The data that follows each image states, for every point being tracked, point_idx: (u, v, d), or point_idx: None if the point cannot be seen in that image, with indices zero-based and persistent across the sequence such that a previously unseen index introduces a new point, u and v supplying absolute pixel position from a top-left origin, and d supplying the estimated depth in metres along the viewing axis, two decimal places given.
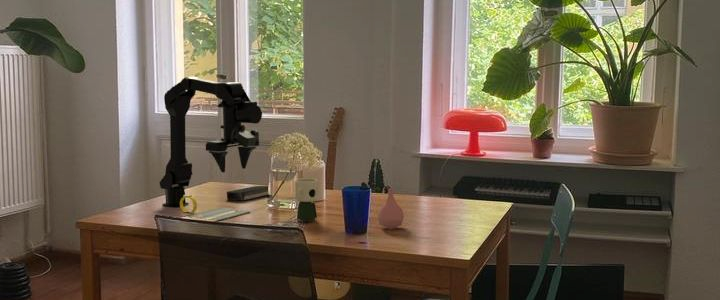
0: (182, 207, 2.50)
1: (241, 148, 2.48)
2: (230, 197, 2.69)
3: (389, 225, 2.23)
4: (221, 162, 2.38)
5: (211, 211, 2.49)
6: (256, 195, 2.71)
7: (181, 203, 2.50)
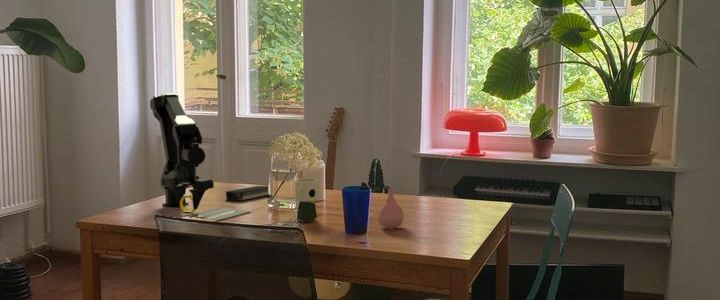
0: (182, 207, 2.50)
1: None
2: (229, 197, 2.69)
3: (389, 225, 2.23)
4: None
5: (211, 211, 2.49)
6: (255, 195, 2.71)
7: (181, 203, 2.50)
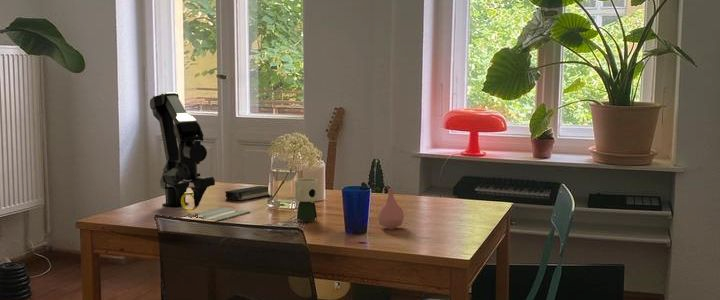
0: (183, 204, 2.49)
1: None
2: (228, 197, 2.70)
3: (389, 225, 2.23)
4: None
5: (211, 211, 2.49)
6: (255, 195, 2.71)
7: (182, 200, 2.49)
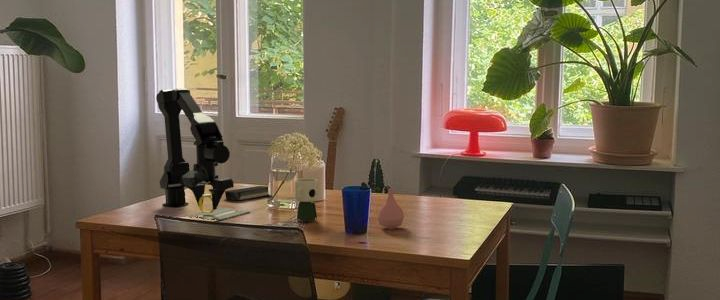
0: (201, 207, 2.45)
1: None
2: (228, 196, 2.70)
3: (389, 225, 2.23)
4: None
5: None
6: (254, 195, 2.71)
7: (200, 203, 2.45)
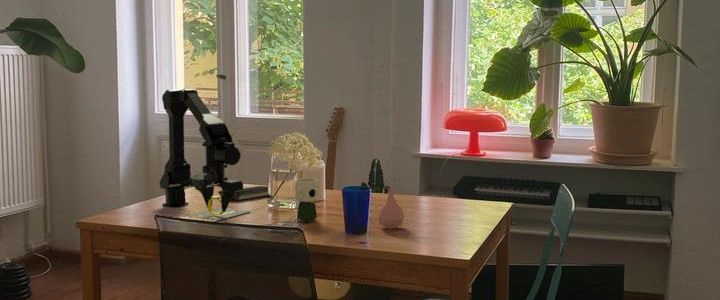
0: (210, 209, 2.42)
1: None
2: None
3: (389, 225, 2.23)
4: None
5: None
6: (253, 195, 2.71)
7: (209, 205, 2.42)
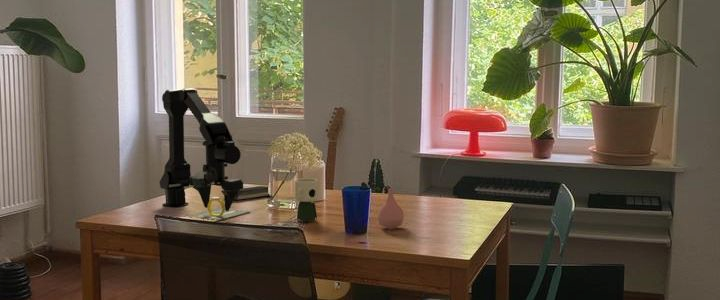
0: (210, 210, 2.43)
1: None
2: None
3: (389, 225, 2.23)
4: None
5: None
6: (252, 195, 2.71)
7: (209, 206, 2.42)
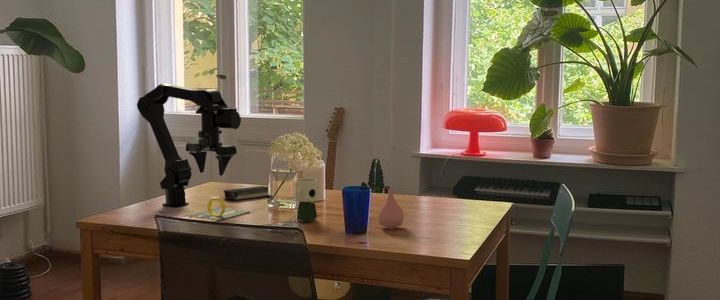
0: (210, 210, 2.43)
1: None
2: (226, 196, 2.71)
3: (389, 225, 2.23)
4: None
5: None
6: (252, 195, 2.71)
7: (209, 206, 2.42)
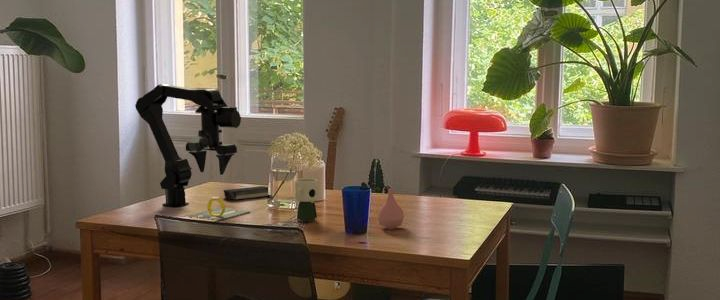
0: (210, 210, 2.43)
1: None
2: (226, 195, 2.72)
3: (389, 225, 2.22)
4: None
5: None
6: (251, 195, 2.71)
7: (209, 206, 2.42)
